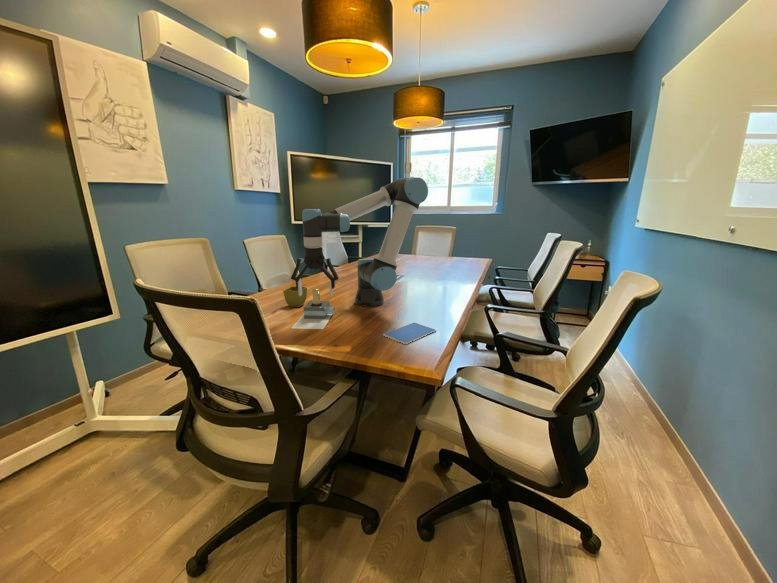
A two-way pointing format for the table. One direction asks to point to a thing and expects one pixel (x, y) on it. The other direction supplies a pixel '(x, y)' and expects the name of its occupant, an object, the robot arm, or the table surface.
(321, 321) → the mounting plate
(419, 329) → the tablet computer
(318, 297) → the brass pin
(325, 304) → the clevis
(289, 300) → the flower pot
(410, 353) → the table surface
